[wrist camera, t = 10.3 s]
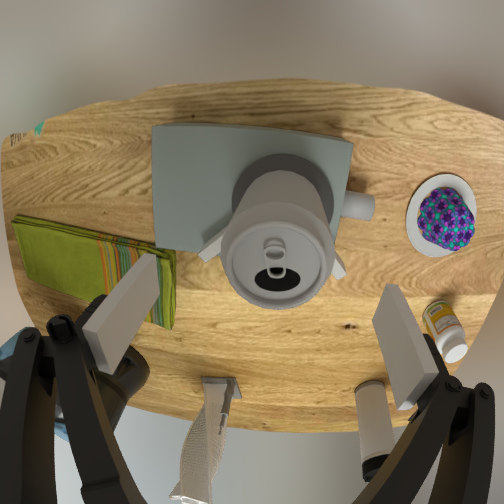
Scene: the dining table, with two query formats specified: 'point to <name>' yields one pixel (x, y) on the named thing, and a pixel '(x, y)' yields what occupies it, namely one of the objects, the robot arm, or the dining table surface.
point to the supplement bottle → (445, 331)
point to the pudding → (441, 216)
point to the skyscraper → (205, 442)
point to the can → (278, 242)
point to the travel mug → (373, 427)
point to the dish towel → (91, 262)
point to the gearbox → (240, 179)
